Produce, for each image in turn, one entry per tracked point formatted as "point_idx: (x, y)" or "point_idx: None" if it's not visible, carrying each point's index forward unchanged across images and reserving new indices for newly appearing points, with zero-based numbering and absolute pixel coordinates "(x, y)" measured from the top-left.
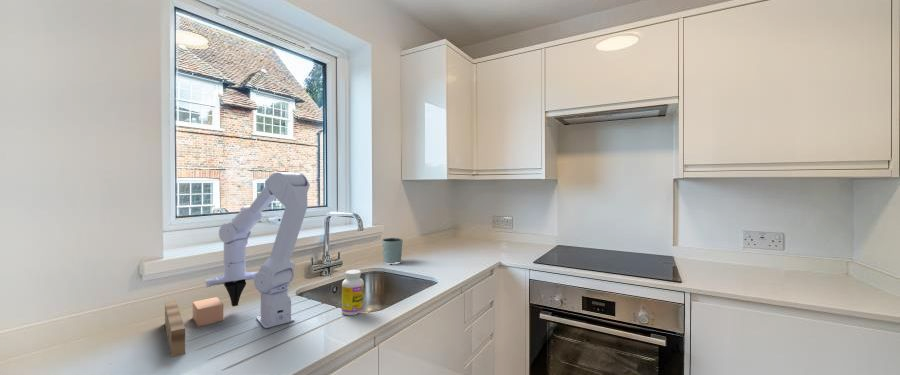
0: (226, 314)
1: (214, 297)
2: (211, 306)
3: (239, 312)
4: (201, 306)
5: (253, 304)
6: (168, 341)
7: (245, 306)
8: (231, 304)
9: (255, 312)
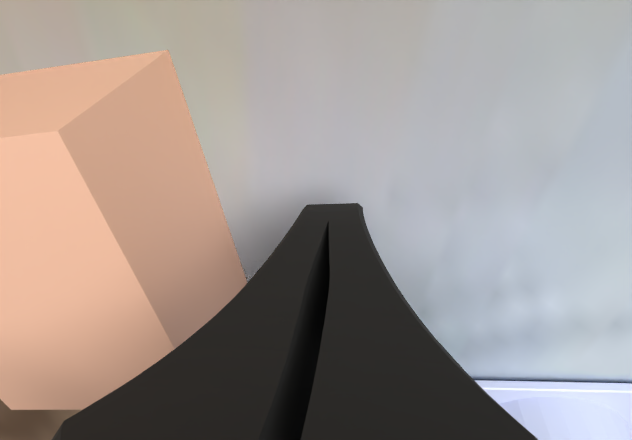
0: (268, 177)
1: (26, 137)
2: None
3: (380, 197)
4: (6, 369)
5: (603, 13)
6: None
7: (489, 34)
8: (302, 212)
9: (495, 275)
